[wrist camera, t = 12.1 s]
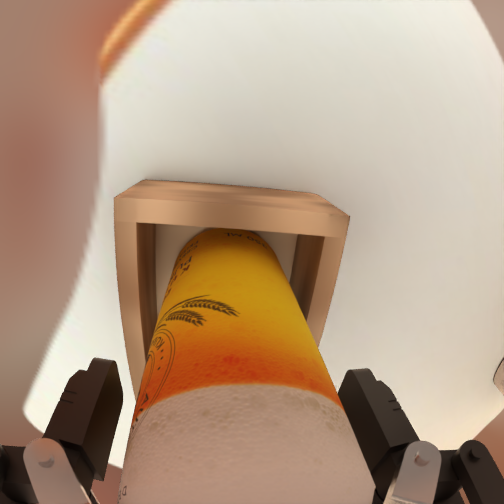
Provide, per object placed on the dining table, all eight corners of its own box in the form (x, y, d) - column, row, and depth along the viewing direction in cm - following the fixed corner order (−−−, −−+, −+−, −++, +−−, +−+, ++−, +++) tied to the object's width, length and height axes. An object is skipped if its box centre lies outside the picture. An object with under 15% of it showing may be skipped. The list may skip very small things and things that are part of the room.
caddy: (316, 193, 17) (559, 397, 2) (270, 413, 24) (304, 580, 9) (142, 179, 16) (-102, 396, 1) (156, 409, 23) (139, 581, 8)
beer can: (172, 222, 16) (61, 511, 2) (282, 223, 17) (441, 485, 3) (178, 316, 19) (149, 566, 5) (274, 315, 19) (344, 554, 5)
